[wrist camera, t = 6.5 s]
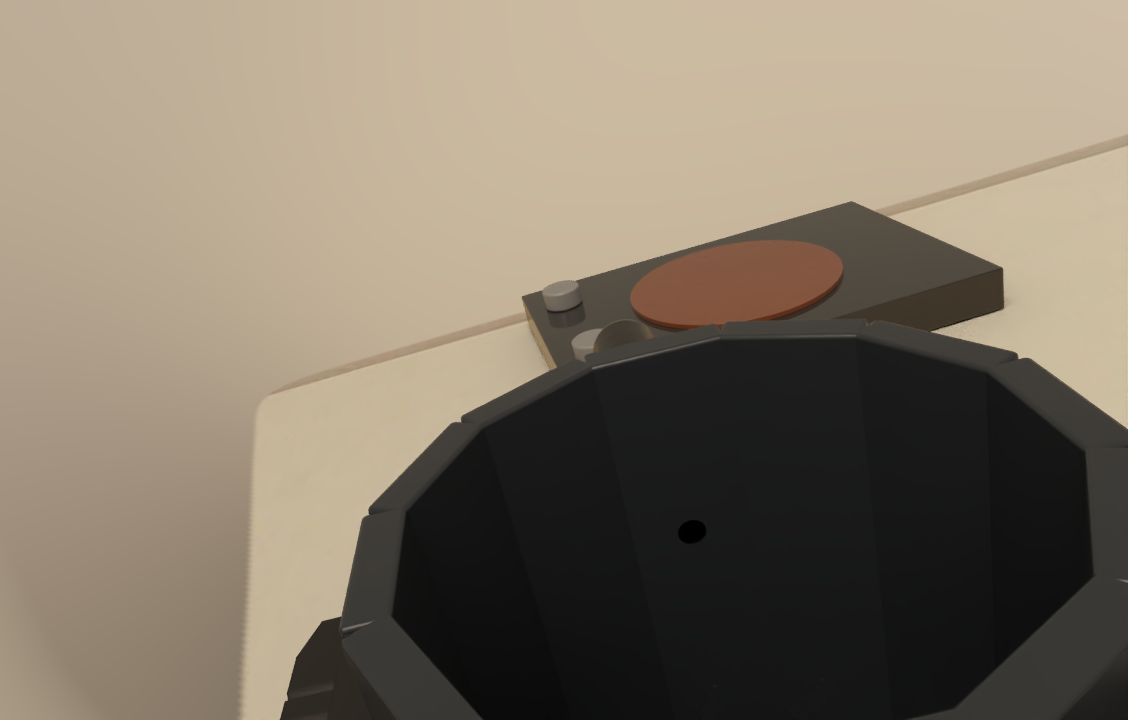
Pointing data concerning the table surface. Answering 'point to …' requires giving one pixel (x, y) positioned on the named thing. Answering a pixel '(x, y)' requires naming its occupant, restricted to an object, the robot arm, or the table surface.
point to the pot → (755, 539)
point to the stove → (775, 282)
